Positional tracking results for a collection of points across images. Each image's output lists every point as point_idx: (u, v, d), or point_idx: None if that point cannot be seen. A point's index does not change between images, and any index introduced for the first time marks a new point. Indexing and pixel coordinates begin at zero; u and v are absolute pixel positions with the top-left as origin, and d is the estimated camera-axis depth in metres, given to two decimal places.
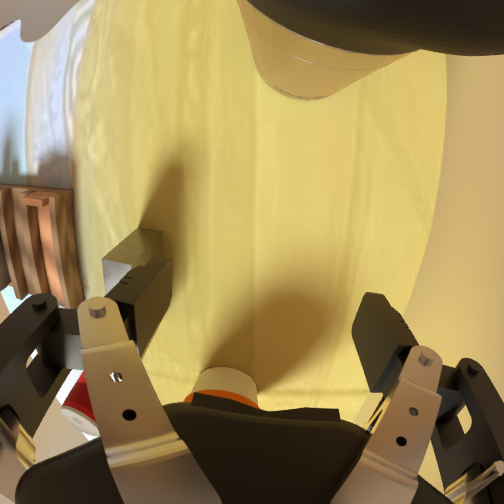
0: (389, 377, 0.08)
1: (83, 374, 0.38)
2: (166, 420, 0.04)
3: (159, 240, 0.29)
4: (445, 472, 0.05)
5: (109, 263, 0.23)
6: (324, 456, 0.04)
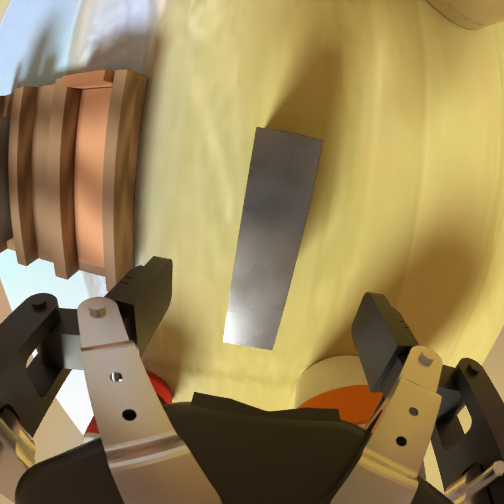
0: (389, 377, 0.08)
1: None
2: (166, 420, 0.04)
3: None
4: (445, 472, 0.05)
5: (273, 136, 0.12)
6: (324, 456, 0.04)
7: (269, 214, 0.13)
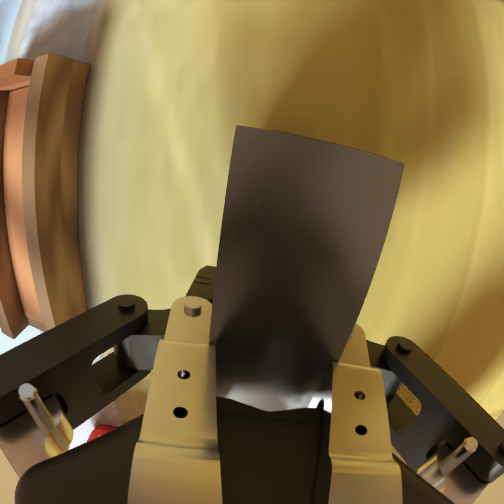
0: None
1: None
2: (214, 428, 0.04)
3: None
4: (406, 454, 0.06)
5: (283, 151, 0.04)
6: (324, 456, 0.04)
7: (269, 334, 0.06)
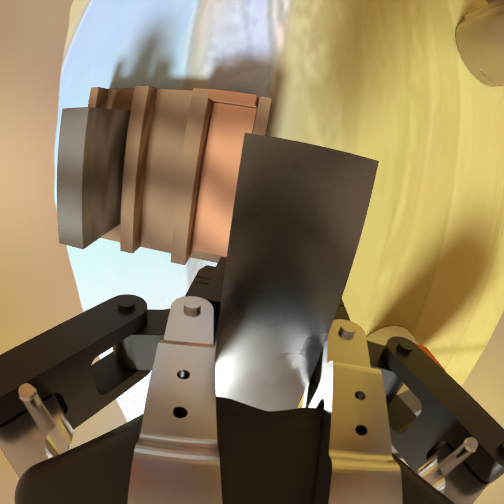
0: None
1: None
2: (214, 428, 0.04)
3: None
4: (407, 454, 0.06)
5: (281, 153, 0.06)
6: (324, 456, 0.04)
7: (271, 302, 0.07)
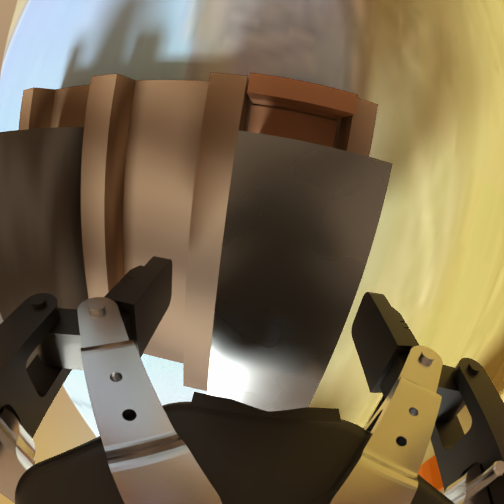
0: (389, 377, 0.08)
1: None
2: (166, 420, 0.04)
3: None
4: (445, 472, 0.05)
5: (280, 153, 0.05)
6: (324, 456, 0.04)
7: (269, 322, 0.06)
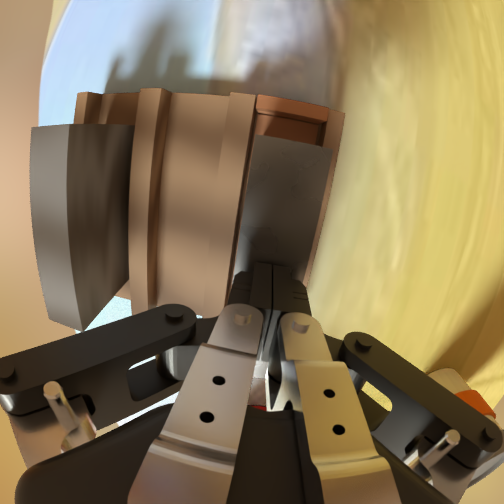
0: (271, 344, 0.09)
1: None
2: (237, 438, 0.04)
3: None
4: None
5: (275, 145, 0.10)
6: None
7: (270, 236, 0.11)
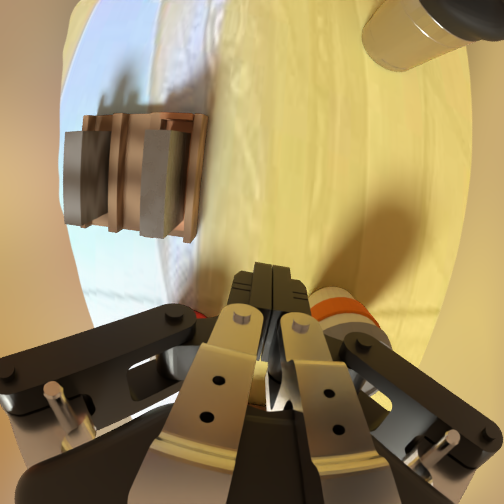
0: (271, 344, 0.09)
1: None
2: (237, 438, 0.04)
3: (188, 137, 0.33)
4: None
5: (151, 132, 0.27)
6: None
7: (152, 165, 0.28)
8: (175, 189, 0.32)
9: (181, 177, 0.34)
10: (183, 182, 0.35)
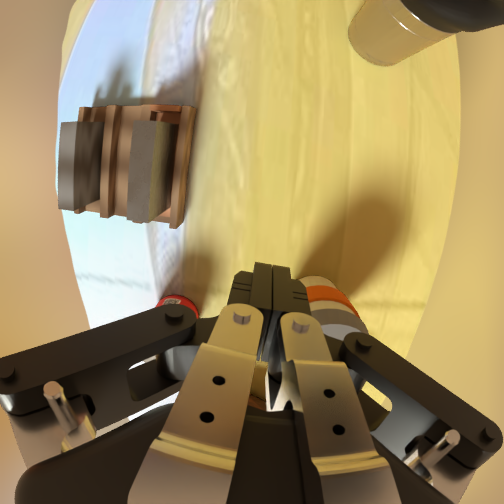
0: (271, 344, 0.09)
1: (161, 303, 0.44)
2: (237, 438, 0.04)
3: (176, 127, 0.34)
4: None
5: (139, 123, 0.28)
6: None
7: (139, 153, 0.29)
8: (161, 177, 0.34)
9: (168, 166, 0.35)
10: (170, 170, 0.36)
